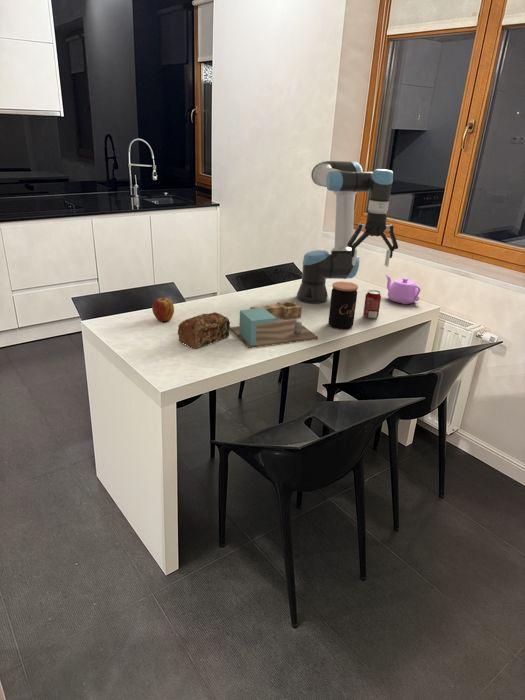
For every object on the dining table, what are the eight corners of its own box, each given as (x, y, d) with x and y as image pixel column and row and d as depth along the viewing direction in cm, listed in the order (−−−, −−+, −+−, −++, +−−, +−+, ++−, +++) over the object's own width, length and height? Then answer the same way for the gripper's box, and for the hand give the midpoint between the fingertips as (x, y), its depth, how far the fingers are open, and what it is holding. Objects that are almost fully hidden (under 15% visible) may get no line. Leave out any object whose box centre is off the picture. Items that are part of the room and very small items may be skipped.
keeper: (239, 336, 196) (239, 310, 192) (262, 333, 200) (263, 307, 196) (250, 348, 186) (251, 320, 182) (274, 344, 190) (276, 318, 186)
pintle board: (229, 329, 203) (230, 316, 200) (294, 321, 214) (295, 309, 212) (248, 348, 186) (248, 335, 184) (317, 338, 198) (318, 326, 195)
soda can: (378, 320, 220) (381, 294, 215) (362, 318, 221) (366, 293, 217) (377, 315, 226) (381, 290, 221) (362, 313, 228) (366, 288, 223)
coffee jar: (337, 331, 206) (342, 290, 198) (323, 323, 214) (327, 282, 207) (358, 328, 211) (363, 287, 203) (343, 319, 219) (347, 280, 212)
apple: (148, 320, 208) (147, 297, 204) (165, 315, 215) (165, 293, 210) (161, 326, 203) (160, 302, 199) (179, 321, 209) (178, 298, 205)
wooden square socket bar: (255, 322, 211) (255, 311, 209) (248, 316, 218) (248, 305, 216) (300, 317, 219) (301, 306, 217) (292, 311, 226) (293, 301, 224)
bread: (195, 351, 182) (195, 325, 178) (176, 342, 189) (176, 318, 185) (231, 337, 195) (231, 313, 191) (212, 330, 202) (212, 307, 198)
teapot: (424, 302, 247) (428, 279, 242) (411, 308, 238) (416, 284, 233) (388, 293, 259) (391, 271, 254) (375, 298, 250) (378, 275, 245)
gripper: (347, 212, 188) (341, 266, 197) (412, 214, 189) (402, 268, 198) (343, 208, 194) (337, 261, 203) (406, 211, 196) (397, 263, 205)
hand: (369, 265), depth 201 cm, fingers open, 13 cm apart
